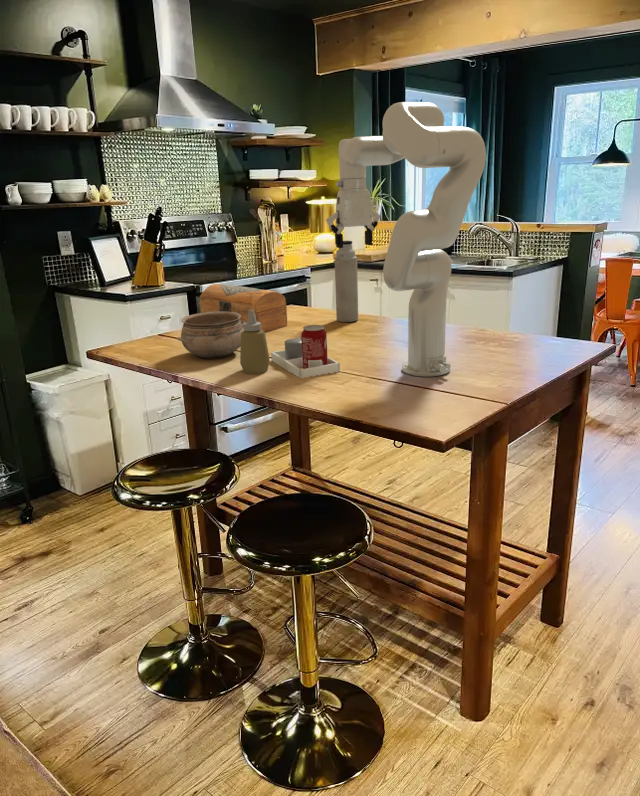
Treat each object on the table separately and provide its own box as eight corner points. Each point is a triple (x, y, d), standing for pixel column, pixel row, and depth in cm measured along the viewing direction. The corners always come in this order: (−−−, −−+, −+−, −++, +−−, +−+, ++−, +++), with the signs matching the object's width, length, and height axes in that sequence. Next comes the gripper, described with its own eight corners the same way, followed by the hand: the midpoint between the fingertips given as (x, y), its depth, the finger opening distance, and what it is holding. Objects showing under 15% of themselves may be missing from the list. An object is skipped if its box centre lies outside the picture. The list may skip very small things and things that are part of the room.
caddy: (340, 375, 170) (339, 350, 167) (300, 383, 165) (299, 357, 163) (308, 357, 187) (307, 334, 185) (271, 363, 183) (270, 340, 180)
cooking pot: (226, 343, 206) (222, 306, 202) (266, 352, 194) (263, 313, 190) (162, 362, 188) (157, 322, 184) (202, 373, 177) (197, 330, 172)
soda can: (324, 374, 168) (323, 330, 164) (300, 373, 169) (297, 330, 165) (330, 367, 174) (328, 324, 170) (306, 366, 175) (304, 324, 171)
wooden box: (198, 325, 233) (194, 287, 228) (232, 316, 245) (229, 280, 240) (254, 336, 214) (251, 295, 209) (288, 326, 226) (286, 287, 221)
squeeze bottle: (274, 370, 176) (269, 306, 170) (266, 379, 169) (261, 313, 163) (246, 369, 178) (241, 306, 172) (237, 378, 171) (231, 313, 164)
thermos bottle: (345, 315, 237) (343, 239, 227) (362, 318, 232) (361, 240, 222) (332, 320, 231) (329, 241, 221) (349, 322, 226) (346, 242, 216)
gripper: (331, 187, 175) (333, 250, 180) (385, 183, 181) (385, 244, 187) (320, 186, 181) (322, 247, 187) (372, 183, 188) (373, 242, 194)
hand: (354, 246), depth 187 cm, fingers open, 9 cm apart
